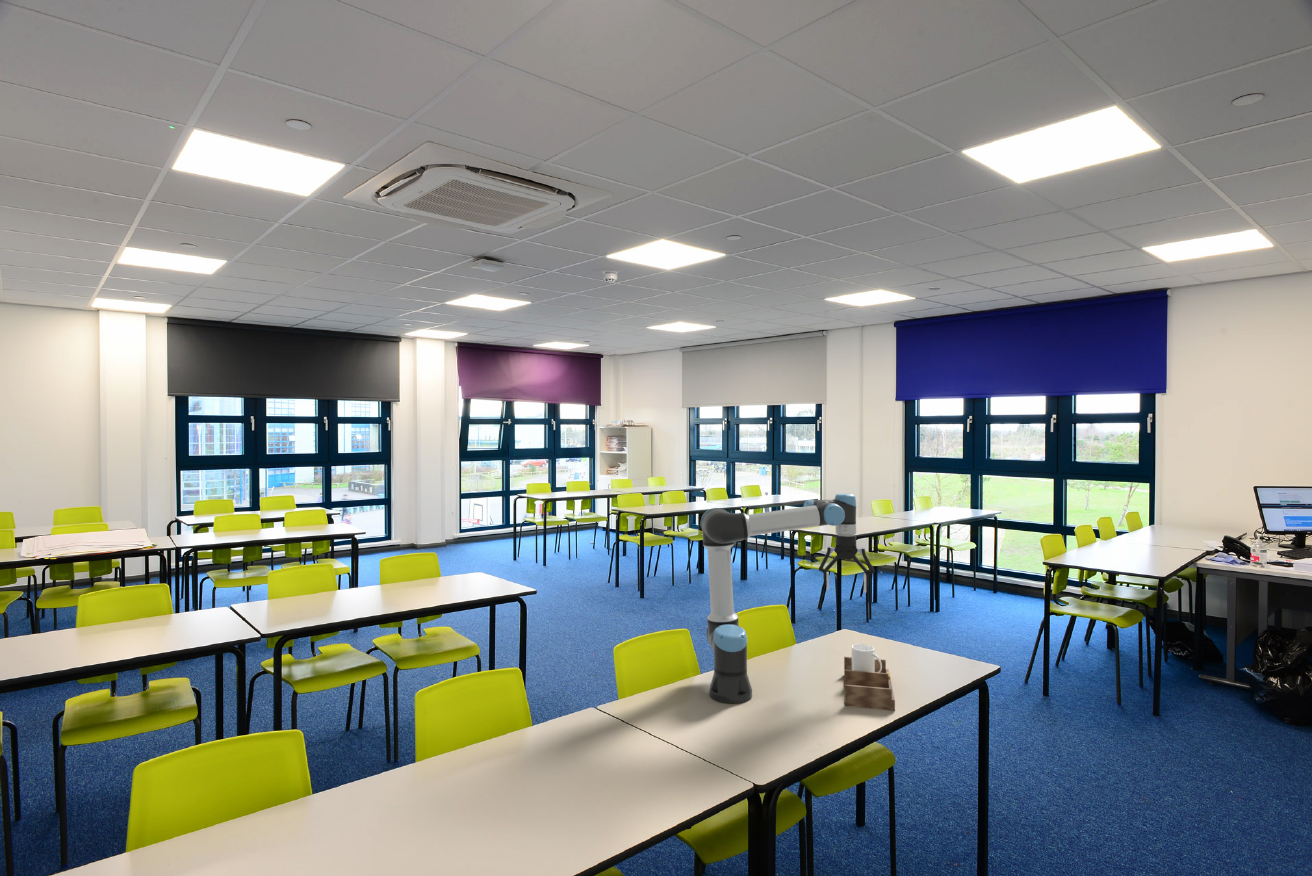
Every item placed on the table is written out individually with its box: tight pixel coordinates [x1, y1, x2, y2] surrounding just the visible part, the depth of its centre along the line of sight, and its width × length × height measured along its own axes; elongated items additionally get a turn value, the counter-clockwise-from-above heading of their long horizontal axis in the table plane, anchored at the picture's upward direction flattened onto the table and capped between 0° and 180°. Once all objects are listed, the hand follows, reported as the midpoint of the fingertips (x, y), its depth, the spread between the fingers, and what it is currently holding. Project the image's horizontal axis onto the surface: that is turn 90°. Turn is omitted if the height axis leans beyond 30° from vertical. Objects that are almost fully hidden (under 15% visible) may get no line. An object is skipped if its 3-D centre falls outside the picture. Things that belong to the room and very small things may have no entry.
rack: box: [843, 656, 896, 711], centre depth 238 cm, size 16×30×7 cm, turn 165°
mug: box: [851, 643, 882, 673], centre depth 245 cm, size 12×8×12 cm
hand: (846, 590), depth 252 cm, fingers open, 13 cm apart
